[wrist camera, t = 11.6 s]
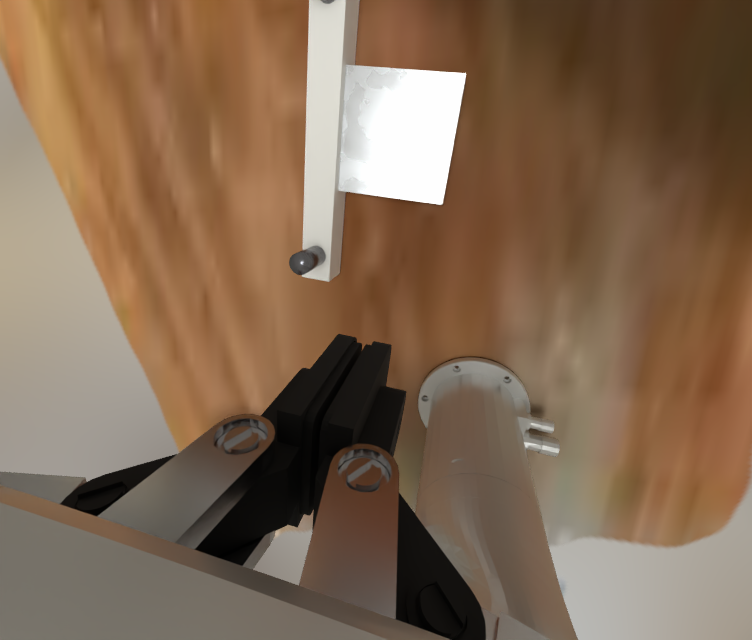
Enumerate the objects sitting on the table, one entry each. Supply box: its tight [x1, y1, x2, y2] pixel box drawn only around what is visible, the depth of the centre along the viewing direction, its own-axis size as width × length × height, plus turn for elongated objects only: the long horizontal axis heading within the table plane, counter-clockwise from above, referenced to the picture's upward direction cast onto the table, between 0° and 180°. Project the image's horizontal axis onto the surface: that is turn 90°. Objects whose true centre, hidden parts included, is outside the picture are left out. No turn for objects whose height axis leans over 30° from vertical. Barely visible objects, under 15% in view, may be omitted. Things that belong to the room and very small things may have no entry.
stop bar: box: [289, 0, 360, 282], centre depth 31 cm, size 3×26×8 cm, turn 173°
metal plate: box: [338, 65, 466, 205], centre depth 32 cm, size 10×10×3 cm
